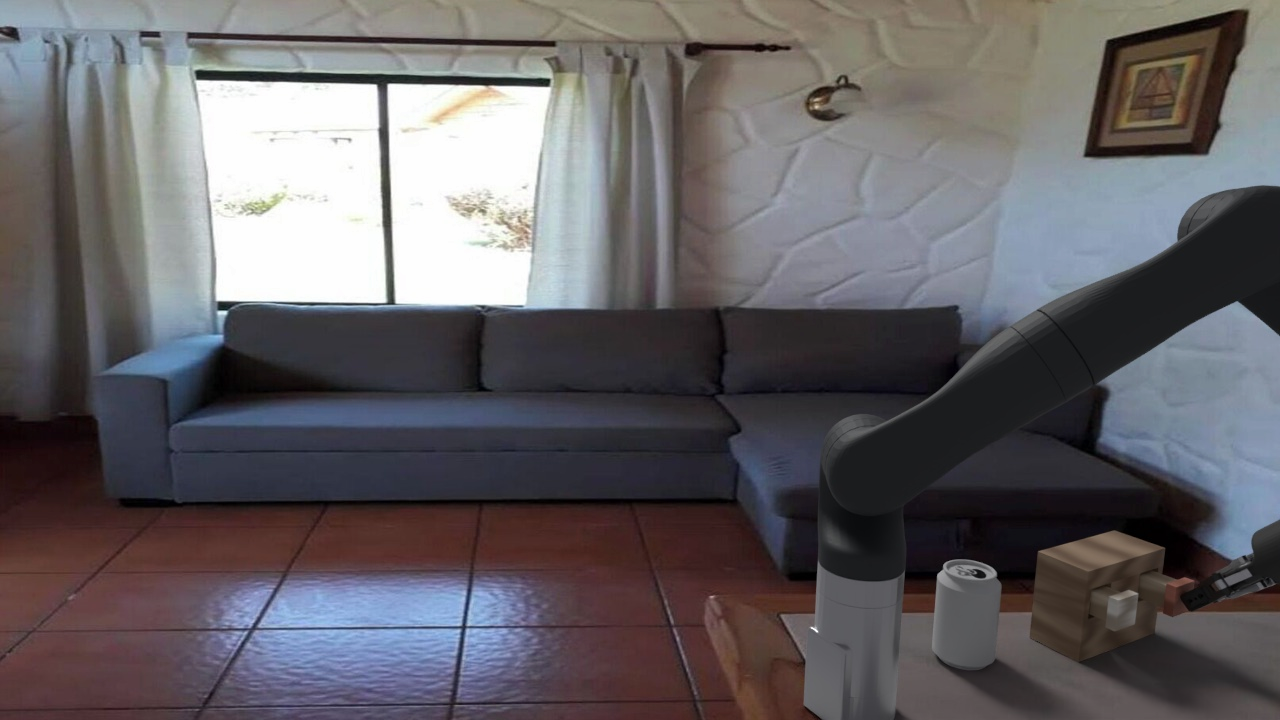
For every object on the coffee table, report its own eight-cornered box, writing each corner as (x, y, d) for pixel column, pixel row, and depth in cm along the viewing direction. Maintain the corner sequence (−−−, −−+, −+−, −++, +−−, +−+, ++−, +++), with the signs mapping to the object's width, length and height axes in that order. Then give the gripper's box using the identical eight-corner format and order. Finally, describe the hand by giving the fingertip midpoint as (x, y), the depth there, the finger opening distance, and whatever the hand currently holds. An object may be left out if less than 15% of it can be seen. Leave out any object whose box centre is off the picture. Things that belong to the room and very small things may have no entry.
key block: (1078, 662, 108) (1088, 571, 106) (1029, 637, 114) (1037, 551, 112) (1154, 633, 115) (1165, 548, 113) (1105, 611, 121) (1114, 530, 119)
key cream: (1114, 631, 104) (1118, 600, 104) (1046, 600, 112) (1050, 571, 111) (1134, 624, 106) (1138, 593, 105) (1066, 594, 114) (1069, 565, 113)
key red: (1172, 617, 108) (1176, 587, 107) (1102, 588, 116) (1106, 560, 115) (1190, 610, 110) (1194, 580, 109) (1121, 582, 118) (1124, 554, 117)
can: (1000, 677, 104) (1008, 583, 102) (935, 670, 106) (942, 577, 103) (988, 646, 111) (996, 558, 109) (927, 640, 113) (934, 553, 111)
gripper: (1321, 504, 100) (1198, 565, 113) (1259, 523, 94) (1136, 585, 107) (1368, 564, 97) (1236, 620, 109) (1307, 587, 90) (1175, 644, 103)
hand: (1187, 603), depth 108 cm, fingers closed
